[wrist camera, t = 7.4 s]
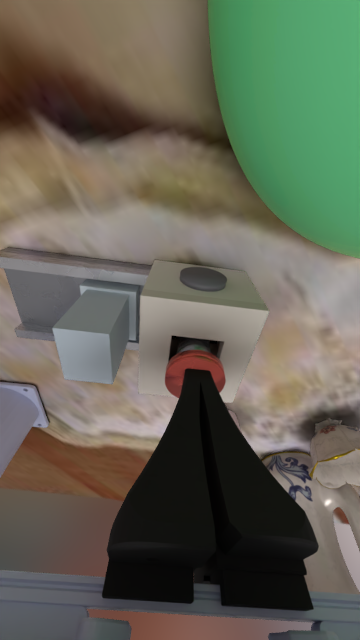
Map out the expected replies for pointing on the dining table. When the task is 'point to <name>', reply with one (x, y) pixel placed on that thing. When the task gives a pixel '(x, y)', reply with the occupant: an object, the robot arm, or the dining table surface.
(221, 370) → the red push button
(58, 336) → the carriage
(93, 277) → the rail
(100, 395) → the dining table surface
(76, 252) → the dining table surface
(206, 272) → the end cabinet
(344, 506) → the chinaware
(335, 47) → the green rounded blob
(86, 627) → the robot arm
